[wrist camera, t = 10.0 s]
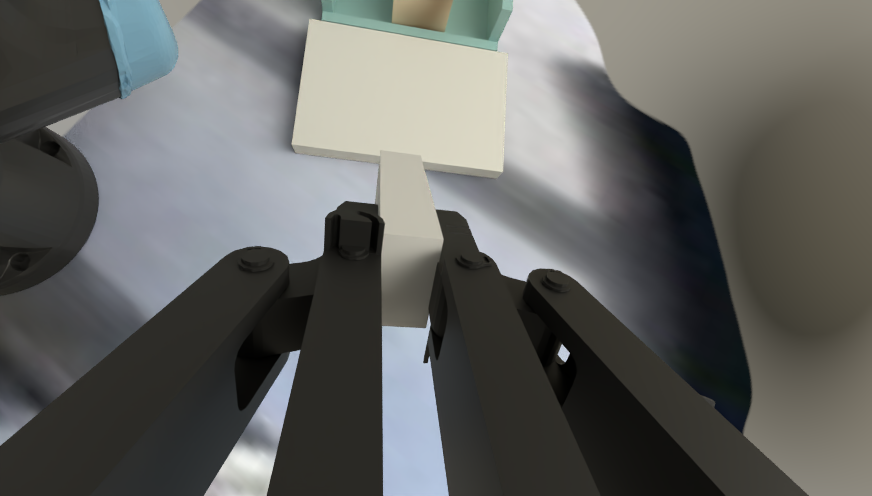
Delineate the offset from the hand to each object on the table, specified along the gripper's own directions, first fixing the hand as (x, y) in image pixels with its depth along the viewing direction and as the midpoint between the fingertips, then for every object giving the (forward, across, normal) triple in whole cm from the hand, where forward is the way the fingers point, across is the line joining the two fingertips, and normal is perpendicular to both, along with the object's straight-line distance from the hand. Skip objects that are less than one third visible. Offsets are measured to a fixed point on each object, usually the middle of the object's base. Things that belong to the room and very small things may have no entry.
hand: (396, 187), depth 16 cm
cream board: (+29, +2, -2) cm, 29 cm away
